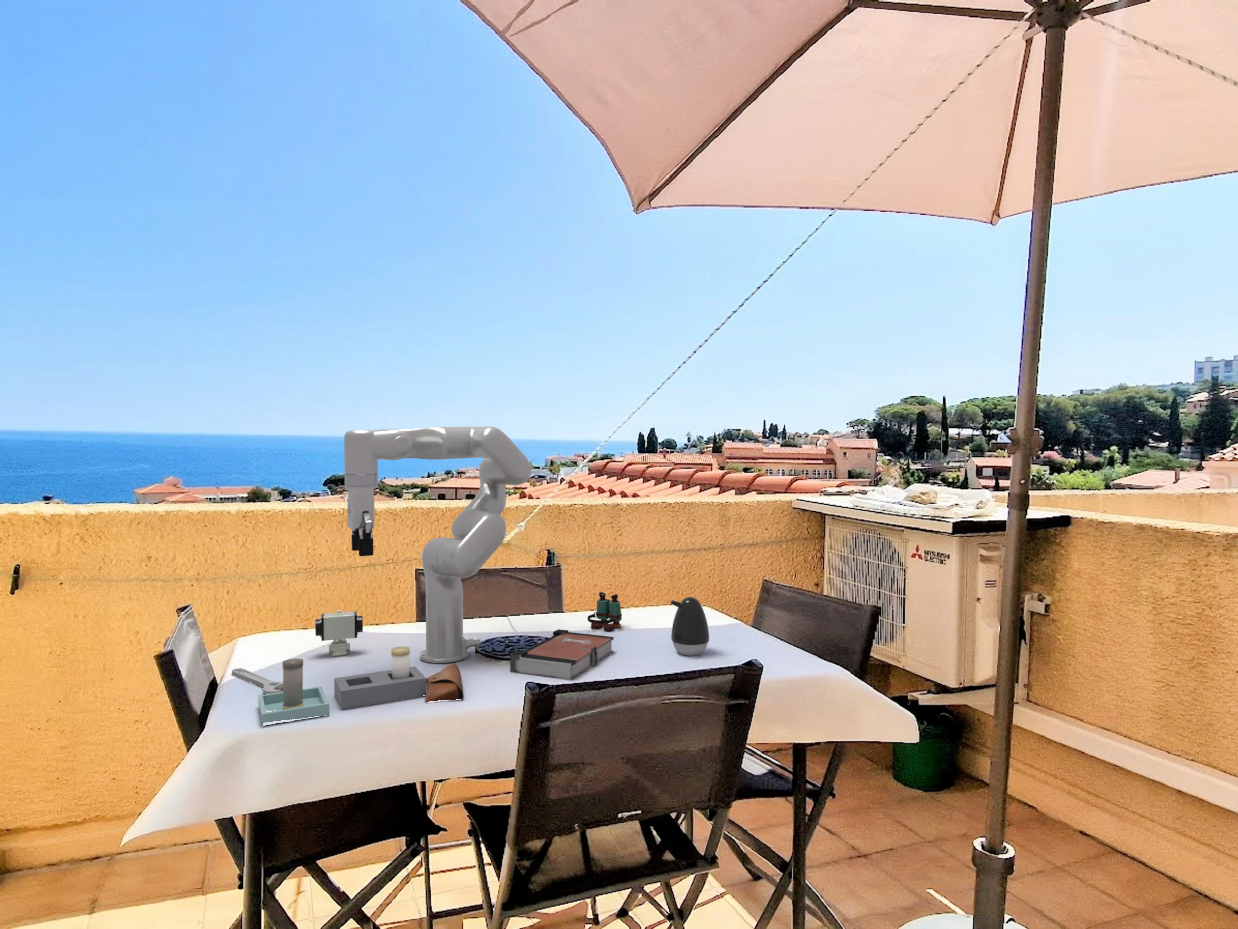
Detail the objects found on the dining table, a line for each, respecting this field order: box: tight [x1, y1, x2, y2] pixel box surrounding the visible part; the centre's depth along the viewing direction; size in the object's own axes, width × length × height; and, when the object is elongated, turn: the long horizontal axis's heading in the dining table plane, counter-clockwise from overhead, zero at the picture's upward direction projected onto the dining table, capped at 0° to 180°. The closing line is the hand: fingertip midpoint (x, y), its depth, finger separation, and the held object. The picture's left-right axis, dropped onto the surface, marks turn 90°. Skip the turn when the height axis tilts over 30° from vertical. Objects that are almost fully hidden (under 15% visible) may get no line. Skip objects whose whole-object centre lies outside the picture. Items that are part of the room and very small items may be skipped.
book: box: [509, 628, 614, 681], centre depth 192 cm, size 26×18×5 cm
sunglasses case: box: [424, 662, 464, 703], centre depth 171 cm, size 18×7×7 cm, turn 15°
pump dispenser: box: [670, 596, 710, 657], centre depth 200 cm, size 10×10×15 cm
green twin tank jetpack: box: [587, 591, 623, 632], centre depth 226 cm, size 9×11×10 cm
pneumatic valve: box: [314, 609, 364, 657], centre depth 199 cm, size 6×12×12 cm, turn 111°
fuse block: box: [333, 666, 427, 710], centre depth 166 cm, size 18×10×4 cm, turn 119°
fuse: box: [390, 646, 411, 680], centre depth 168 cm, size 4×4×10 cm
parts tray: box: [257, 685, 330, 723], centre depth 156 cm, size 13×13×2 cm
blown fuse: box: [282, 658, 304, 710], centre depth 156 cm, size 4×4×10 cm
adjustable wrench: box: [231, 667, 283, 695], centre depth 175 cm, size 25×6×2 cm, turn 46°
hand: (362, 553), depth 178 cm, fingers open, 9 cm apart
